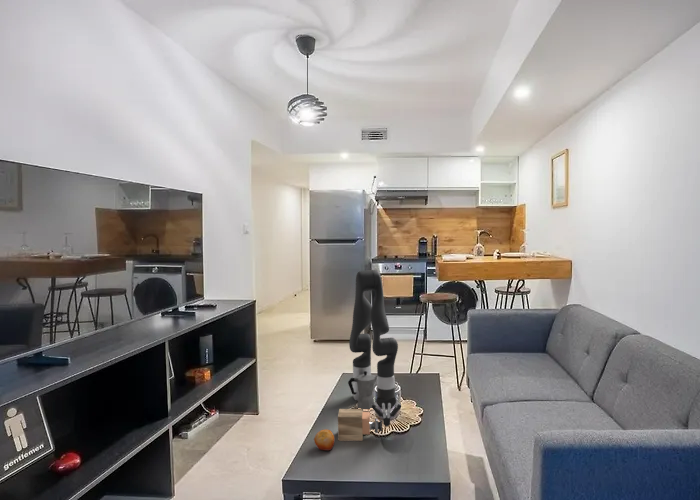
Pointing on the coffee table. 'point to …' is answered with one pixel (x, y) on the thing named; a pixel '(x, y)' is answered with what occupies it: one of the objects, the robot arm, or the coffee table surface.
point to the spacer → (366, 422)
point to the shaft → (376, 425)
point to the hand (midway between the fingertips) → (386, 425)
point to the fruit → (324, 440)
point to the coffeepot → (364, 389)
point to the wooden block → (350, 425)
